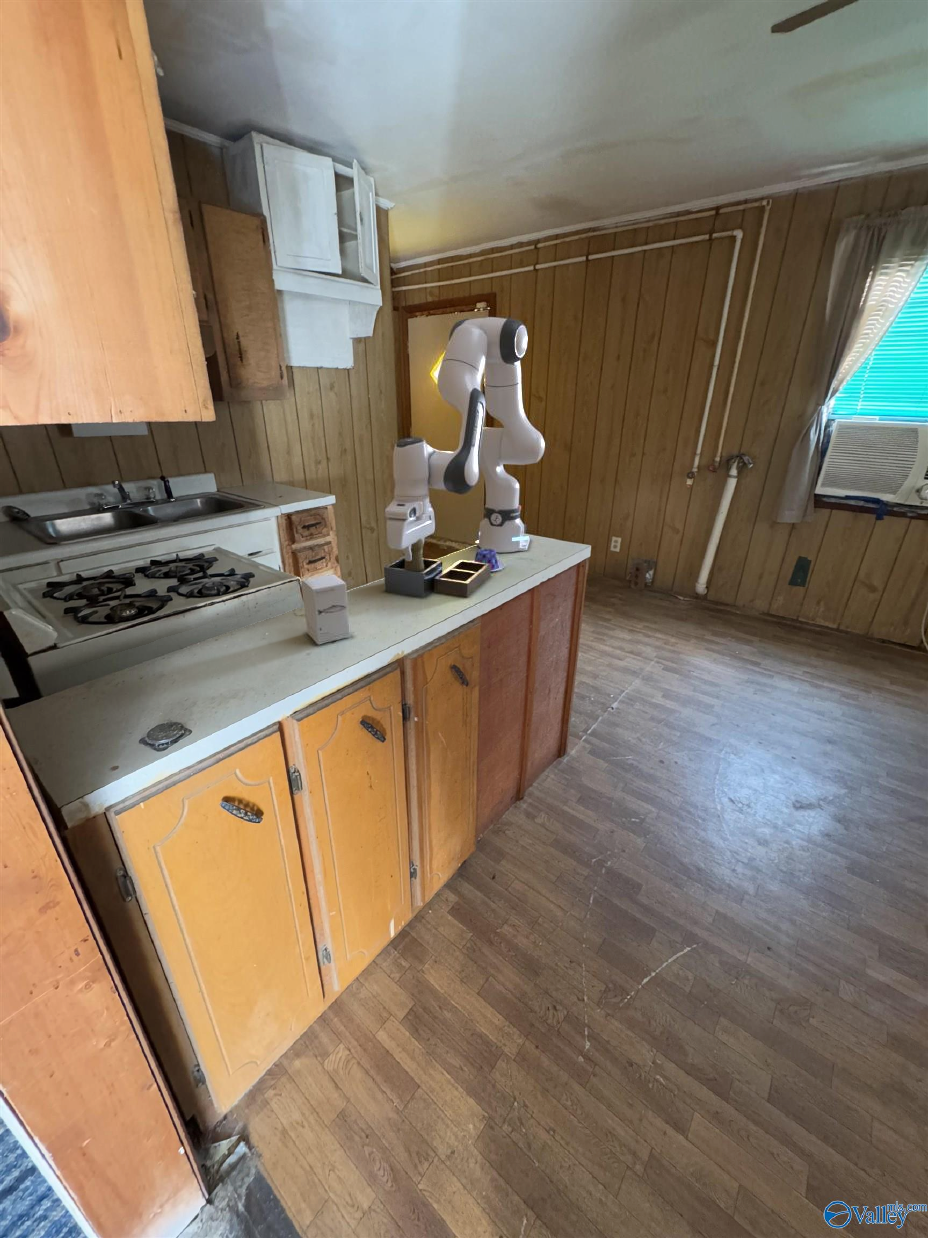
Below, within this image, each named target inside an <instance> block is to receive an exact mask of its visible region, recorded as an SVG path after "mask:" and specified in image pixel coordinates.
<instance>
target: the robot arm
mask: <svg viewBox="0 0 928 1238" xmlns="http://www.w3.org/2000/svg"><path fill="white" fill-rule="evenodd" d="M527 347H528V332H527V328H526V326H525V325H524V324H523V321H521V320H519V319H516V318H511V317H509V318H503V317H496V316H487V317H479V318H472V319H470V318H462V319H460V320H458V321H456V322H455V323H454V325H453V326H452V327H451V328H450V331H449V335H448V343H447V345H446V348H445V351H444V353H443V356H442V360H441V363H440V366H439V370H438V374H437V375H438V376H437V380H436V381H437V383H436V384H437V385H436V386H437V390H438V393H439V394H440V396H441V398H442V400H444V401H445V402H446V403H447V404H448V405H450V406H451V407H453V408H454V409H456V410H457V411H459V412H460V413H461V417H462V418H461V428H460V434H459V435H460V436H459V441H458V442H459V443H458V447H457V449H456V450H454V451H445V450H439V449H437V448H434V447H431V446H430V445H429V444H428V443H427V442H426V440H425V438H422V437H418V436H416V437H415V436H414V437H406V438H402V439H399V440H398V441H397V442H396V443H395V445H394V447H393V455H392V477H393V480H394V490H393V491H394V492H393V496H394V497H393V499H392V500H391V502H390V503H389V505H388V506H387V507H386V508H385V509H384V517H385V518H387V519H386V540H387V545H388V547H389V549H391V550H397V551H402V552H403V554H404V556H405V560H406V561H411V560H413V553H411V545H412V544H414V543H416V542H417V541H418V540H419V539H422V540H423V546H424V545H425V538H427V537H429V536H431V535H433V534H434V533H435V529H436V520H435V512H434V509H433V507H432V503H431V502H430V490H429V488H430V489H434V490H440V491H448V492H450V493H454V494H458V495H466V494H468V493H470V491H472V490H473V489H474V488H475V486H476V485H477V483H478V482H479V478H480V473H481V474H482V477H483V479H484V484H485V506H484V510H483V514H484V515H483V517H484V518H483V519H482V520H481V521H480V523H479V532H478V540H475V541H474V545H475V546H477V547H479V549H492V550H495V552H496V553H513V552H525V551H527V550H528V548H529V544H530V541H531V539H530V536H528V535H527V536H526V535H525V533H527V530H528V529H527V528H528V527H527V526H528V525H527V524H524V523H523V521H522V520H521V510H522V506H521V505H520V488H521V487H520V483H519V482H518V480H517V479H516V478H515V477H513V476H512V475H510V474H509V473H507V472H506V470H505V468H504V465H518V466H525V465H531V464H537V463H538V462H539V461H540V460H541V459H542V457H543V456H544V453H545V449H546V443H545V439H544V437H543V435H542V433H541V432H540V431H539V430H537V428H535V426H533V425H532V424H531V422H530V421H529V419H528V418H527V415H526V412H525V410H524V404H523V390H522V387H523V385H522V365H521V359H522V358H523V357H524V355H525V353H526V350H527ZM482 378H483V380H484V393H483V392H482V390H481V384H482ZM486 411H487V413H488V414H489V415H490V416H491V417H493V418H494V419H496V420H497V421H499V422H500V423H501V425H502V427H484V424H485V417H486ZM421 551H422V552H423V549H422V550H421Z"/></svg>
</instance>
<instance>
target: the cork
mask: <svg viewBox="0 0 928 1238" xmlns="http://www.w3.org/2000/svg"><path fill="white" fill-rule="evenodd" d="M423 548H424V545H423V540H422V539H419V540H418V541H417V542H416V543H414V544H412V545H411V553H413V560H411V561H406V560H405V568H404V570H411V571H418V572H423V571H425V569H424V563H423V558H424V557H423ZM421 550H422V551H421Z"/></svg>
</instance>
